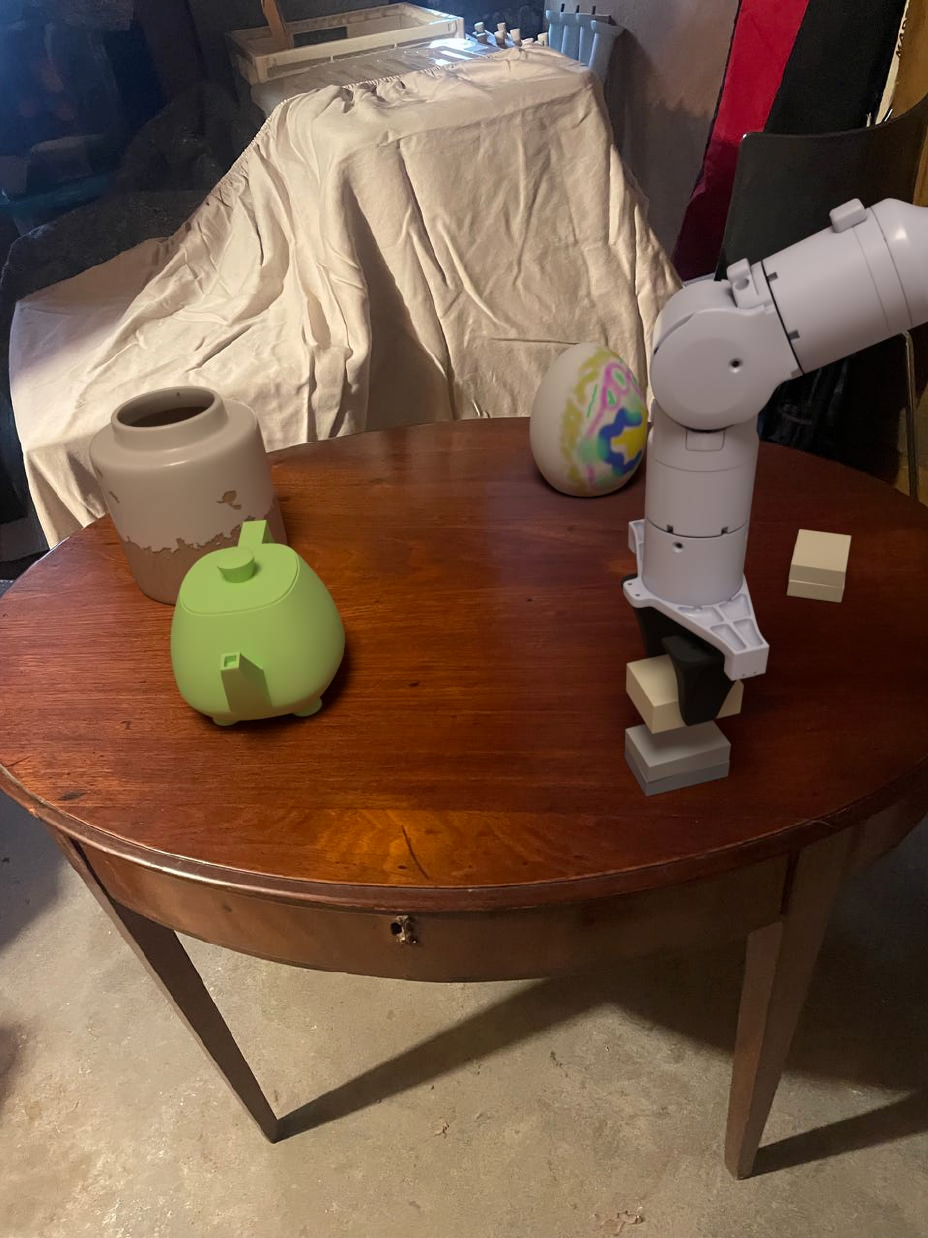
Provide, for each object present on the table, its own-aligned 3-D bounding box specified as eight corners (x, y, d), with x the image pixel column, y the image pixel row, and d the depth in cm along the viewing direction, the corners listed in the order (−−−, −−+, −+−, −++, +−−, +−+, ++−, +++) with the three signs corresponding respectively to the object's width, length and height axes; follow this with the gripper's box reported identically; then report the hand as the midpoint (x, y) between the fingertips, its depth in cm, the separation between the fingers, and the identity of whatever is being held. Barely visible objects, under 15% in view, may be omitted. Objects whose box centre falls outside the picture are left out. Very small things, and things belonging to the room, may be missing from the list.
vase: (113, 563, 90) (54, 410, 80) (246, 508, 97) (207, 361, 87) (173, 628, 80) (114, 461, 70) (317, 561, 87) (282, 401, 77)
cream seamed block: (792, 558, 80) (797, 528, 78) (845, 565, 79) (851, 534, 77) (785, 595, 76) (790, 564, 74) (841, 603, 74) (848, 572, 72)
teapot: (349, 764, 64) (317, 627, 56) (166, 786, 64) (109, 652, 56) (354, 606, 80) (329, 483, 72) (208, 623, 80) (168, 502, 72)
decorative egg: (592, 519, 89) (593, 377, 80) (508, 483, 96) (500, 349, 87) (668, 475, 95) (676, 338, 86) (583, 444, 102) (583, 315, 94)
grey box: (702, 738, 63) (705, 707, 61) (728, 777, 60) (733, 746, 58) (623, 757, 62) (624, 726, 60) (645, 798, 59) (647, 767, 57)
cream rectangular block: (708, 671, 59) (711, 643, 58) (740, 713, 56) (744, 684, 55) (625, 690, 59) (626, 663, 57) (652, 734, 55) (653, 706, 54)
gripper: (584, 469, 54) (585, 641, 62) (686, 597, 43) (671, 788, 51) (690, 448, 55) (678, 621, 63) (818, 567, 44) (783, 760, 52)
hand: (682, 694), depth 57 cm, fingers closed on cream rectangular block, 4 cm apart
